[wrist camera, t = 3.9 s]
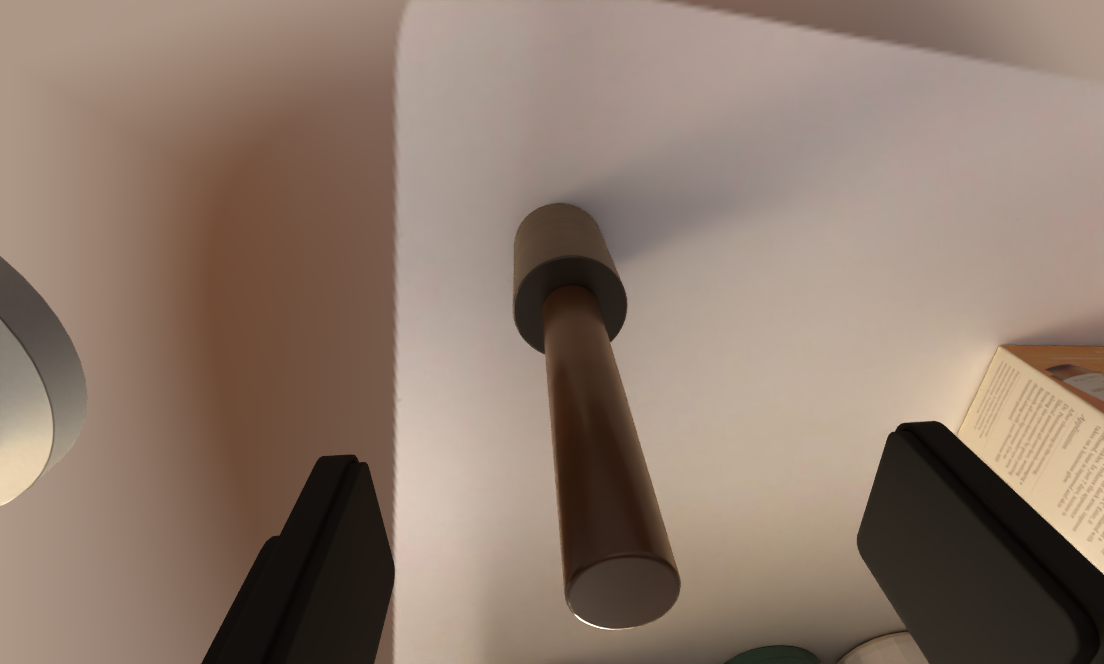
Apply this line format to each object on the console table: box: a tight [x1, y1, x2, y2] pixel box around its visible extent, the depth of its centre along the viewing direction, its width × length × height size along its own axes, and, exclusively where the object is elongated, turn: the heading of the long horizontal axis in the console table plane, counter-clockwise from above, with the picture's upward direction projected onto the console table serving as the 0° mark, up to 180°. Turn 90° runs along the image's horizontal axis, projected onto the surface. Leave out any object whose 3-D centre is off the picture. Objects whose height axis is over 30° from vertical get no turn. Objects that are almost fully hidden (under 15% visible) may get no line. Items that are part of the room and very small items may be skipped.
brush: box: [513, 203, 681, 630], centre depth 16 cm, size 4×4×16 cm
